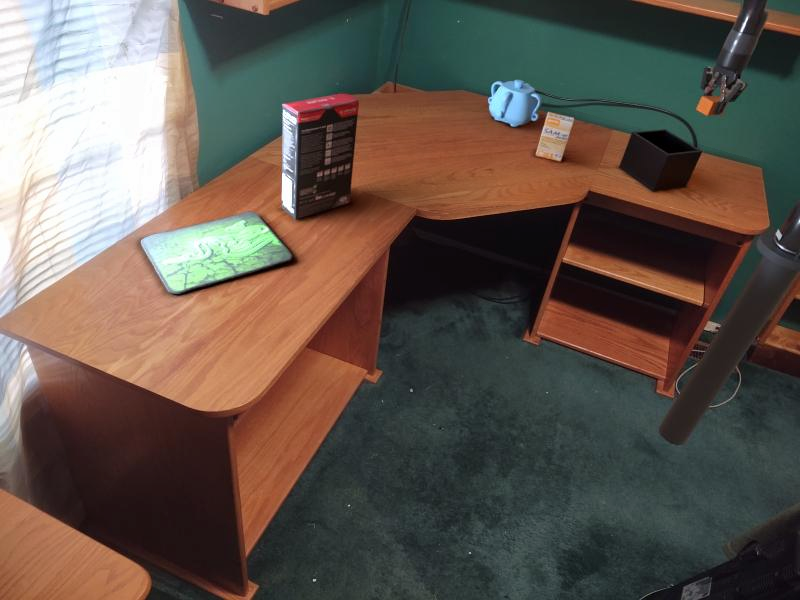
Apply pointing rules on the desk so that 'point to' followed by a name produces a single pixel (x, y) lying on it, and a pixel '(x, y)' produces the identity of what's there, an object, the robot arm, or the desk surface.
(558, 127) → the supplement box
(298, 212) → the graphics card box
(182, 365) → the desk surface
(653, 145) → the waste bin
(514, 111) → the decorative pot
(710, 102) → the orange rectangular block
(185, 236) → the mouse mat
